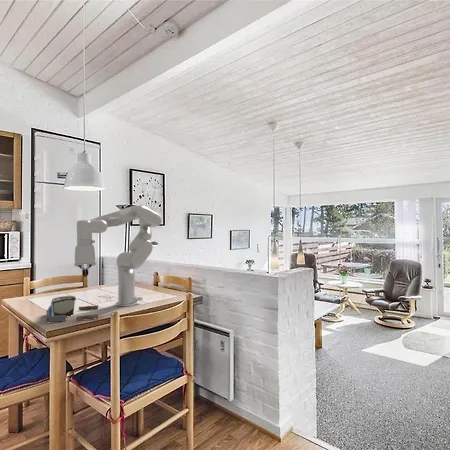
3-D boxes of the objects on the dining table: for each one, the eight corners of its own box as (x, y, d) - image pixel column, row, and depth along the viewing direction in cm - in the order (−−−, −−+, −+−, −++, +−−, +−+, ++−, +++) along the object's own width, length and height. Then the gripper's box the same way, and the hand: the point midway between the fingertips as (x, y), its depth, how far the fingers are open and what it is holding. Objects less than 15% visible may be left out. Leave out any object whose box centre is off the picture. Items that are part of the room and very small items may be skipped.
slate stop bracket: (69, 311, 179) (69, 300, 179) (65, 321, 161) (65, 309, 161) (52, 313, 176) (52, 302, 176) (46, 323, 158) (46, 310, 158)
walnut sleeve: (98, 308, 186) (98, 305, 186) (97, 318, 165) (97, 314, 165) (79, 310, 182) (79, 306, 182) (76, 320, 162) (76, 316, 162)
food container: (70, 313, 176) (70, 294, 176) (76, 315, 172) (76, 296, 173) (46, 318, 167) (46, 298, 167) (51, 320, 163) (51, 300, 163)
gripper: (99, 242, 182) (100, 274, 182) (69, 243, 176) (70, 276, 176) (99, 242, 175) (100, 276, 175) (68, 243, 169) (69, 278, 169)
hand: (85, 276), depth 176 cm, fingers closed
